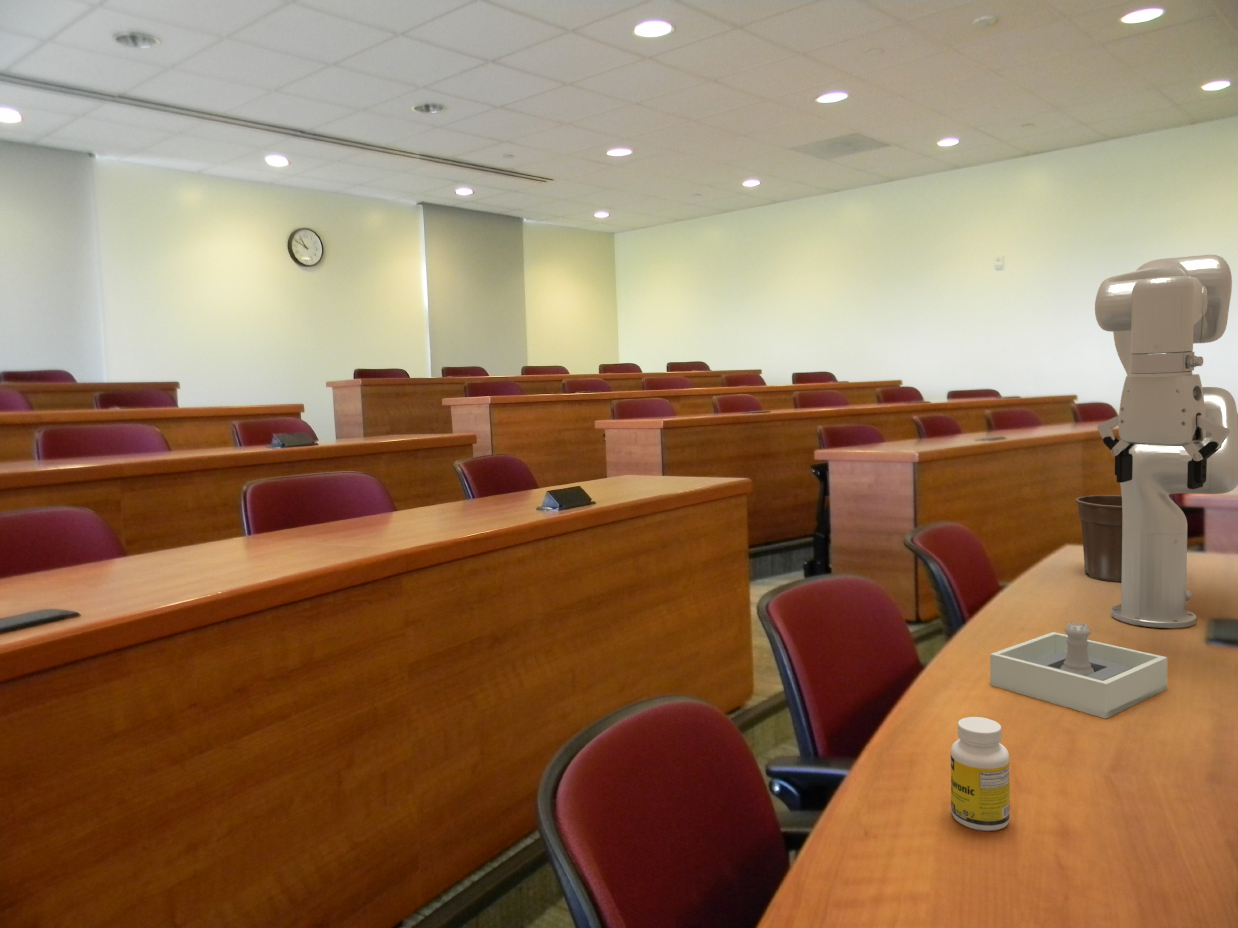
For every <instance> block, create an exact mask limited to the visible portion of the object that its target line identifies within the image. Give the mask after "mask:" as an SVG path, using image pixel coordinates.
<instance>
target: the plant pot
mask: <svg viewBox="0 0 1238 928" xmlns="http://www.w3.org/2000/svg"><path fill="white" fill-rule="evenodd" d="M1075 502H1076V503H1077V505H1078V515H1079V517H1078V518H1079V519H1080V521H1081V522H1080V523H1081V536H1082V548H1083V561H1084V563H1083V565H1084V573H1085V575H1086V576H1089V577H1090V578H1093V579H1097V580H1101V581H1106V582H1111V583H1112V582H1117V583H1122V494H1121V495H1120V494H1119V495H1118V494H1117V495H1116V494H1106V495H1103V494H1100V495H1084V496H1080V497H1077V498H1076V499H1075Z"/></svg>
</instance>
